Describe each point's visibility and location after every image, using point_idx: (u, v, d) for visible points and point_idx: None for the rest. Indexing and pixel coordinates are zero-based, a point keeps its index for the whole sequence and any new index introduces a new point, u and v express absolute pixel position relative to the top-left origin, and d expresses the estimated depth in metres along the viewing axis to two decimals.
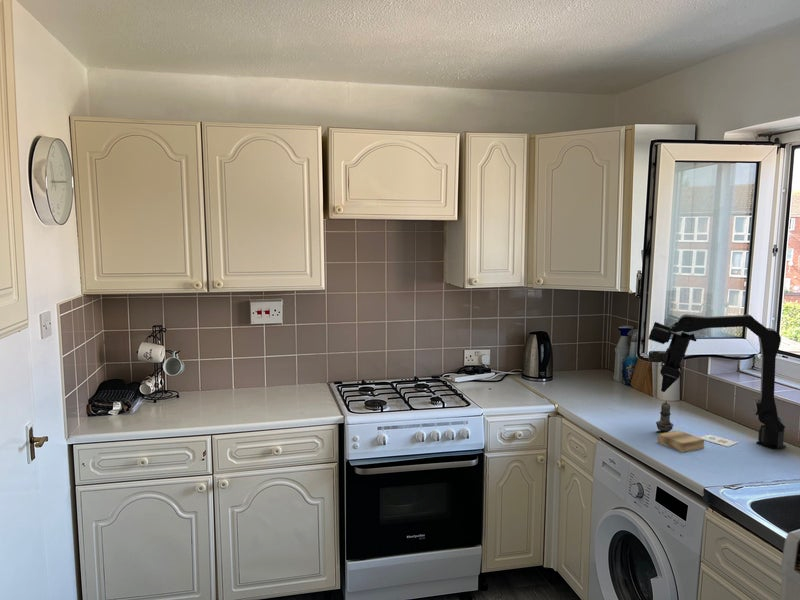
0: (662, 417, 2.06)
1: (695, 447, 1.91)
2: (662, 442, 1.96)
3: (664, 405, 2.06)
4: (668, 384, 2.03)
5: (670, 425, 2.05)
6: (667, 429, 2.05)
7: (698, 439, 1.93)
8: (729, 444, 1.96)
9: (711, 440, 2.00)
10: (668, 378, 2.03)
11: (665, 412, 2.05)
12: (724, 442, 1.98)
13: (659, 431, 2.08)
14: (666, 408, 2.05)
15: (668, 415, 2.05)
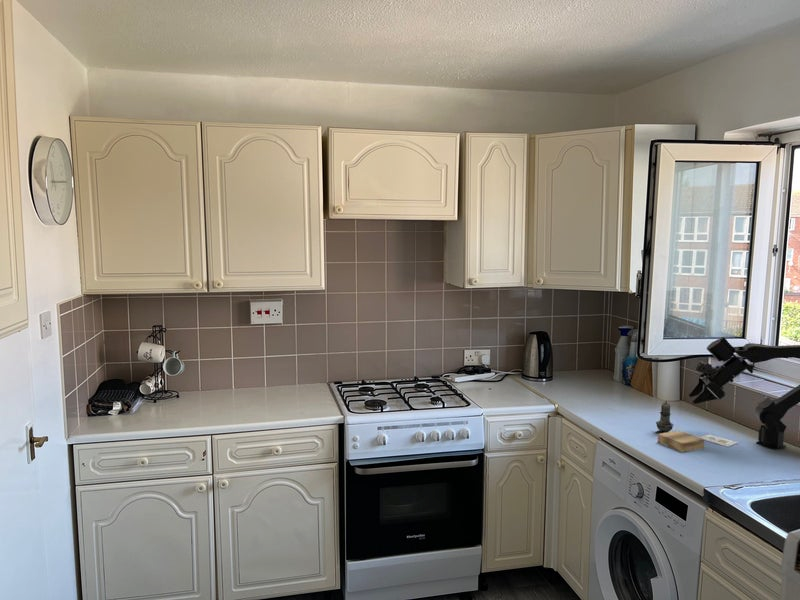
0: (662, 417, 2.06)
1: (695, 447, 1.91)
2: (662, 442, 1.96)
3: (664, 405, 2.06)
4: (703, 399, 1.97)
5: (670, 425, 2.05)
6: (667, 429, 2.05)
7: (698, 439, 1.93)
8: (729, 444, 1.96)
9: (711, 440, 2.00)
10: (707, 394, 1.96)
11: (665, 412, 2.05)
12: (724, 442, 1.98)
13: (659, 431, 2.08)
14: (666, 408, 2.05)
15: (668, 415, 2.05)
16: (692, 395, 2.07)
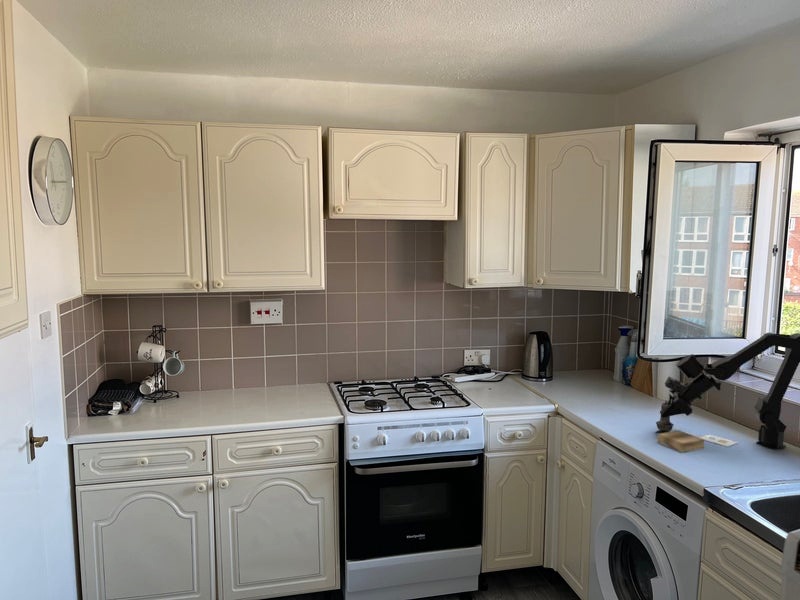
0: None
1: (695, 447, 1.91)
2: (662, 442, 1.96)
3: (664, 405, 2.06)
4: (671, 413, 2.03)
5: (670, 425, 2.05)
6: (667, 429, 2.05)
7: (698, 439, 1.93)
8: (729, 444, 1.96)
9: (711, 440, 2.00)
10: (675, 408, 2.03)
11: None
12: (724, 442, 1.98)
13: (659, 431, 2.08)
14: (666, 408, 2.05)
15: None
16: None
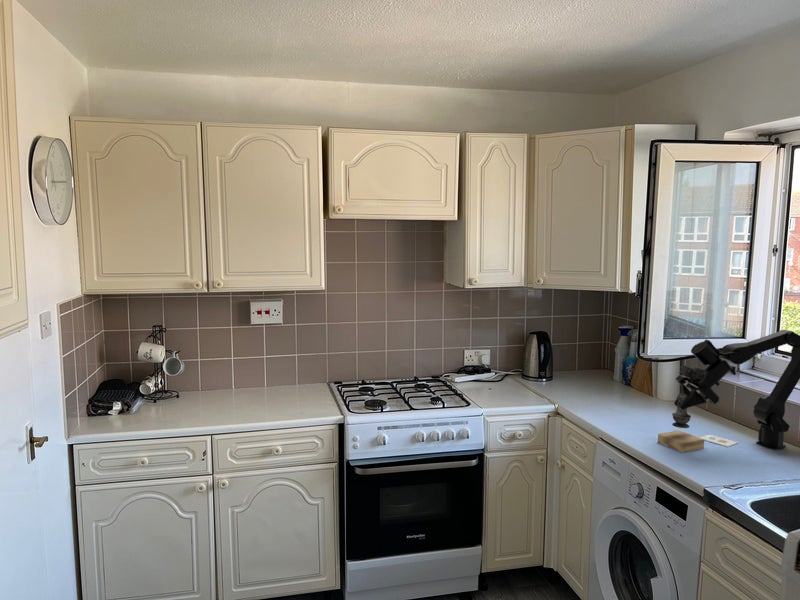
0: (680, 409, 1.94)
1: (695, 447, 1.91)
2: (662, 442, 1.96)
3: (682, 396, 1.93)
4: (692, 404, 1.91)
5: (689, 416, 1.93)
6: (687, 421, 1.93)
7: (698, 439, 1.93)
8: (729, 444, 1.96)
9: (711, 440, 2.00)
10: (695, 398, 1.91)
11: None
12: (724, 442, 1.98)
13: (676, 424, 1.95)
14: (684, 399, 1.93)
15: None
16: None
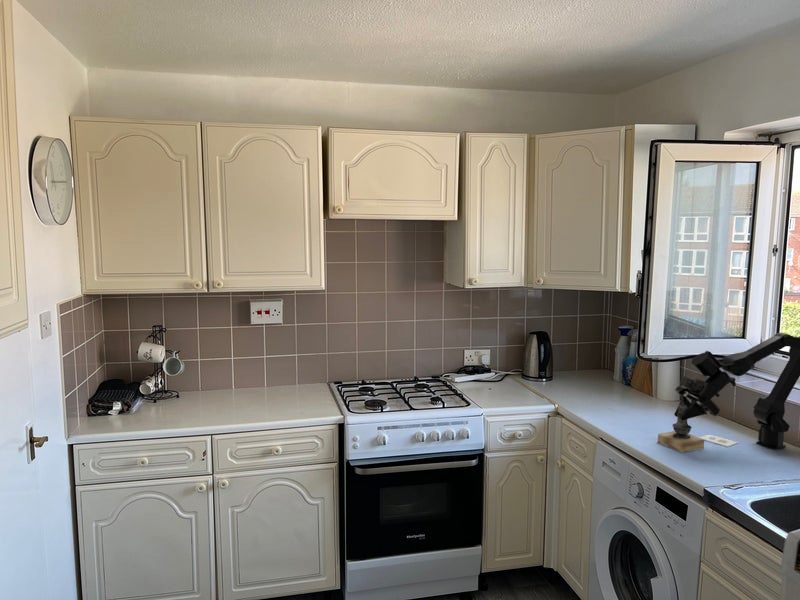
0: (681, 420, 1.94)
1: (695, 447, 1.91)
2: (662, 442, 1.96)
3: (682, 407, 1.93)
4: (692, 415, 1.91)
5: (689, 427, 1.93)
6: (687, 432, 1.93)
7: (698, 439, 1.93)
8: (729, 444, 1.96)
9: (711, 440, 2.00)
10: (695, 409, 1.91)
11: None
12: (724, 442, 1.98)
13: (677, 435, 1.95)
14: (685, 410, 1.93)
15: None
16: None
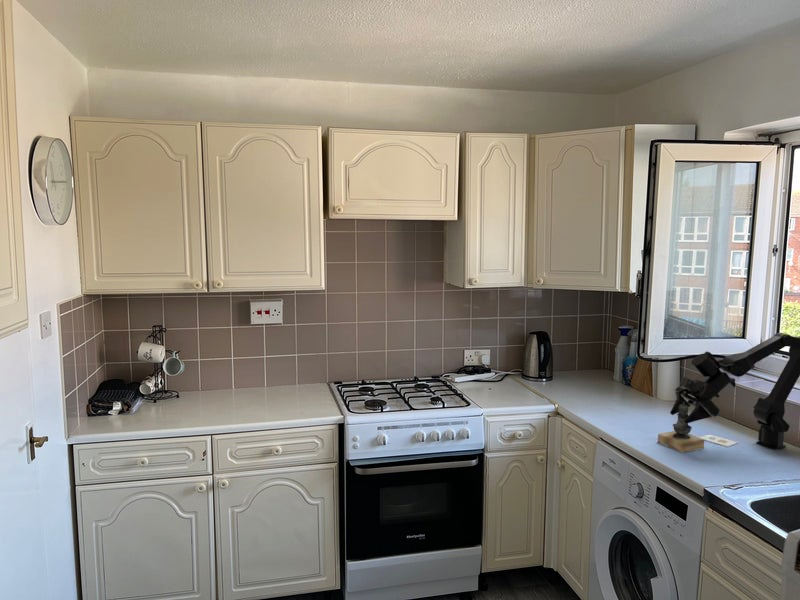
0: (681, 420, 1.94)
1: (695, 447, 1.91)
2: (662, 442, 1.96)
3: (683, 407, 1.93)
4: (696, 418, 1.89)
5: (690, 427, 1.93)
6: (687, 432, 1.93)
7: (698, 439, 1.93)
8: (729, 444, 1.96)
9: (711, 440, 2.00)
10: (700, 412, 1.89)
11: (684, 414, 1.93)
12: (724, 442, 1.98)
13: (677, 435, 1.95)
14: (685, 410, 1.93)
15: None
16: (674, 413, 1.99)
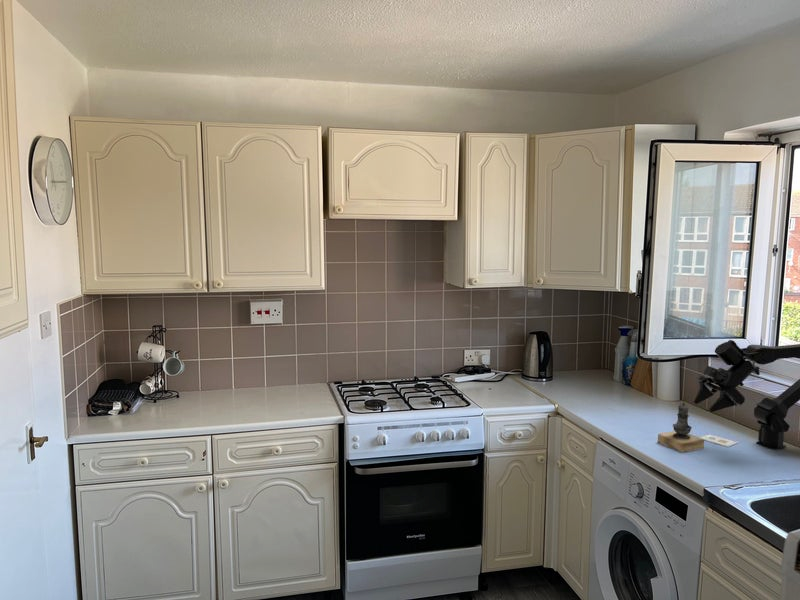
0: (681, 420, 1.94)
1: (695, 447, 1.91)
2: (662, 442, 1.96)
3: (683, 407, 1.93)
4: (721, 407, 1.89)
5: (690, 427, 1.93)
6: (687, 432, 1.93)
7: (698, 439, 1.93)
8: (729, 444, 1.96)
9: (711, 440, 2.00)
10: (724, 401, 1.88)
11: (684, 414, 1.93)
12: (724, 442, 1.98)
13: (677, 435, 1.95)
14: (685, 410, 1.93)
15: (687, 417, 1.93)
16: (697, 402, 1.99)
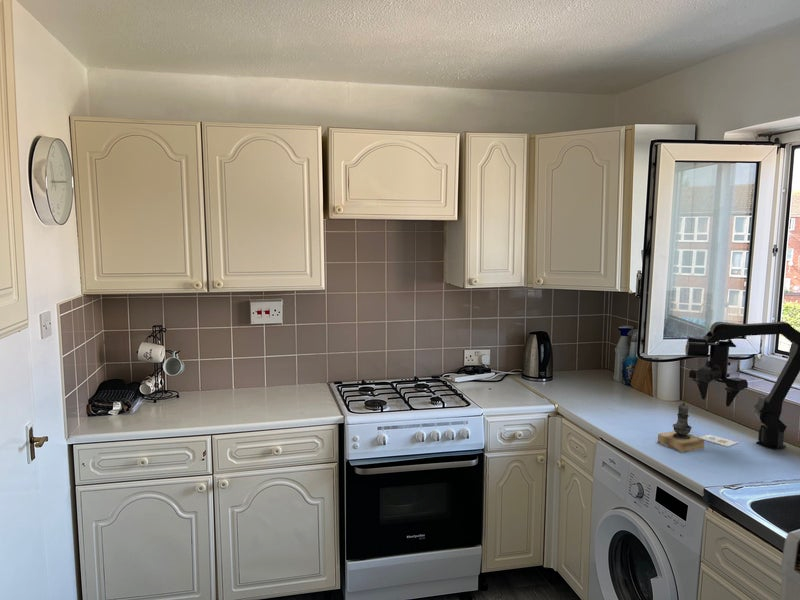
0: (681, 420, 1.94)
1: (695, 447, 1.91)
2: (662, 442, 1.96)
3: (683, 407, 1.93)
4: (733, 397, 1.96)
5: (690, 427, 1.93)
6: (687, 432, 1.93)
7: (698, 439, 1.93)
8: (729, 444, 1.96)
9: (711, 440, 2.00)
10: (732, 391, 1.95)
11: (684, 414, 1.93)
12: (724, 442, 1.98)
13: (677, 435, 1.95)
14: (685, 410, 1.93)
15: (687, 417, 1.93)
16: (705, 397, 2.05)
